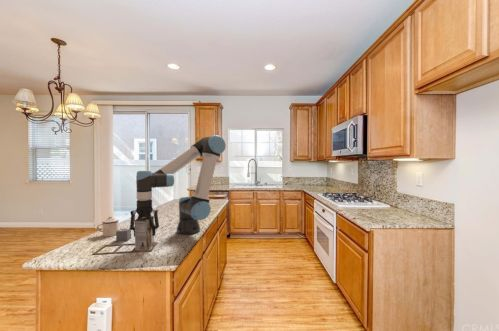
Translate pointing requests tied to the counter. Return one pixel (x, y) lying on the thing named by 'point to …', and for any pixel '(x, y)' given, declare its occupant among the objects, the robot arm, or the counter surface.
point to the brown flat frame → (123, 251)
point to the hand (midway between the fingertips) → (144, 241)
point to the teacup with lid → (109, 226)
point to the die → (123, 234)
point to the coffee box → (143, 234)
